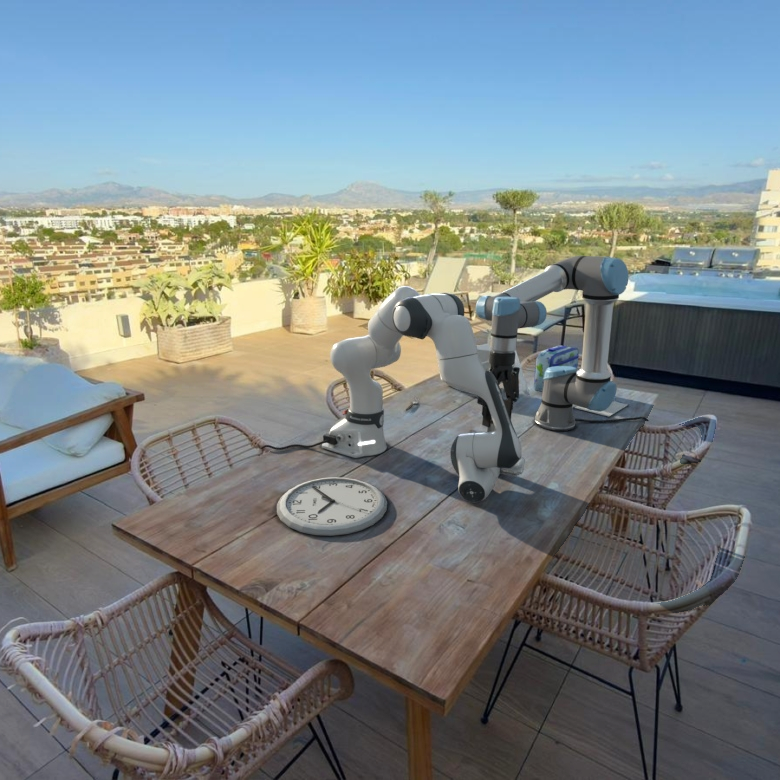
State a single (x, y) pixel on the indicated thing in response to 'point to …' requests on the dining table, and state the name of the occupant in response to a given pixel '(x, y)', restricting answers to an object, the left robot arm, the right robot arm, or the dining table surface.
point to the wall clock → (331, 506)
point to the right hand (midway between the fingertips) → (496, 423)
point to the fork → (413, 403)
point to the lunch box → (554, 362)
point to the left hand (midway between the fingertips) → (494, 450)
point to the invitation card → (609, 411)
